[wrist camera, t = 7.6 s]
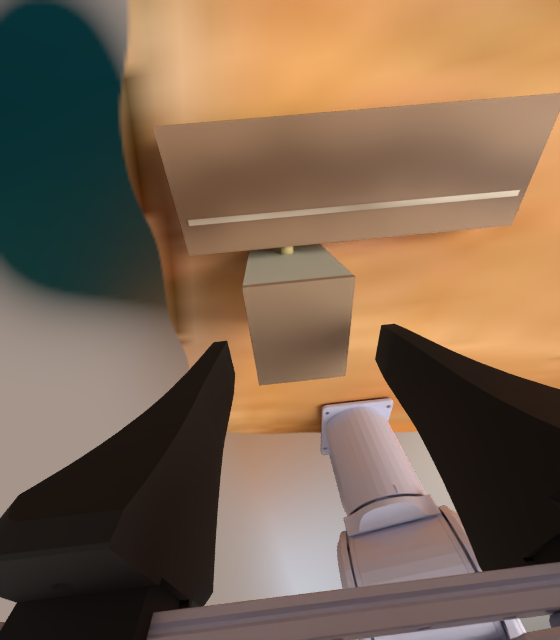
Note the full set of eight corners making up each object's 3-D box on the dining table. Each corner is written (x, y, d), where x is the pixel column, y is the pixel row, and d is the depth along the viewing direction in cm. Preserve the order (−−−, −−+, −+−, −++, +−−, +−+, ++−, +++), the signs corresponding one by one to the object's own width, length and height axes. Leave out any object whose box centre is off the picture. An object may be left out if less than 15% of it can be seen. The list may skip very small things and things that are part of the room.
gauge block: (317, 314, 19) (345, 376, 13) (260, 320, 19) (259, 385, 13) (318, 235, 16) (356, 265, 10) (248, 242, 16) (240, 276, 9)
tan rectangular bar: (477, 220, 16) (512, 225, 14) (199, 246, 16) (188, 256, 13) (516, 109, 13) (569, 91, 11) (171, 137, 12) (151, 125, 10)
